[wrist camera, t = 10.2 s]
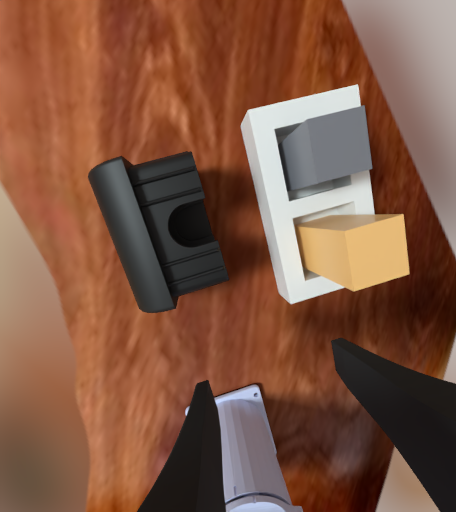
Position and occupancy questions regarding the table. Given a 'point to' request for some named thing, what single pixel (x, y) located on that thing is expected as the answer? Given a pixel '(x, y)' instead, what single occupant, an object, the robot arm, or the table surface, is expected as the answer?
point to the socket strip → (303, 200)
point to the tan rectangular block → (354, 248)
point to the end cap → (159, 228)
